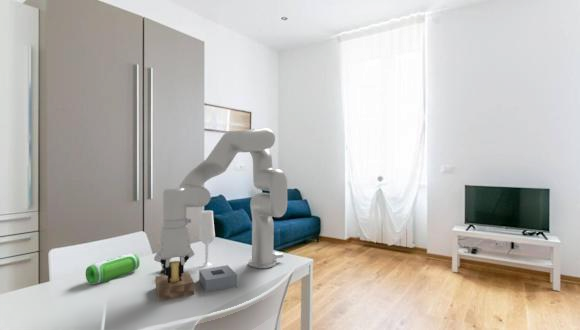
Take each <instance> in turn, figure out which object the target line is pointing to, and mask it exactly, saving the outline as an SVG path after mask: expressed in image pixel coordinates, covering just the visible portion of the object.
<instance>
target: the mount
mask: <svg viewBox="0 0 580 330" xmlns="http://www.w3.org/2000/svg"><path fill="white" fill-rule="evenodd" d="M155 290H156V294H157V298H158V301H159V302H161V301H165V300H166V301H167V300H172V299H177V298H182V297H187V296H192V295H195V281H194V279H193V278H192V276H191V273H190V272H189V271H184V273H182V277H179V281H177V282H171V283H170V279H168V276H166V275H164V274H163V275H158V276H155Z"/></svg>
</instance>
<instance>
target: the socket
mask: <svg viewBox="0 0 580 330" xmlns="http://www.w3.org/2000/svg"><path fill="white" fill-rule="evenodd" d="M237 277H238V274H237V273H236V272H235V271H234V269H232V268H231V267H230V266H229V265H228V264H226V265H220V266H215V267H208V268H207V267H206V268H203V269H199V270H198V281H199V282H200V284H201V286H202V288H203V289H204V291H205V293H207V292H213V291H217V290H222V289H228V288H234V287H235V288H236V289H237V287H238V285H237V283H238V279H237Z"/></svg>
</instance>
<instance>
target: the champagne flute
mask: <svg viewBox="0 0 580 330" xmlns="http://www.w3.org/2000/svg"><path fill="white" fill-rule="evenodd" d="M200 212H201V214H200V222H199V232H198V239H199V241H200V242H201V243H203V244H204V245H205V258H204V259H205V260H204V263H203V264H201V265H200V266H199V267H210V266H212V265H213V264H212V263H210V262H209V245H210V244H211V243H212V242H213V241H214V240H215V238H216V231H215V224H214V223H215V222H214V221H215V220H214V211H213V210H210V209H209V210H208V209H207V210H201V211H200Z"/></svg>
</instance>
